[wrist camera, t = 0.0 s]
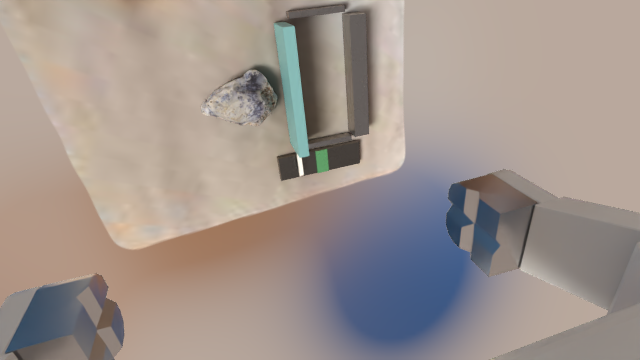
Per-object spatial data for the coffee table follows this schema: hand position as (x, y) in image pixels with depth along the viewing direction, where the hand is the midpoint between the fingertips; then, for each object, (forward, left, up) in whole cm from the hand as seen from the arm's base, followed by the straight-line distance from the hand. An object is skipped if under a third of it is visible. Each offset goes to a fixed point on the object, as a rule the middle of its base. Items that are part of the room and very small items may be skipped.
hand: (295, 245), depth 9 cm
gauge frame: (+12, +14, -48) cm, 51 cm away
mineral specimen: (+9, +2, -48) cm, 49 cm away
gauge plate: (+12, +9, -48) cm, 50 cm away
